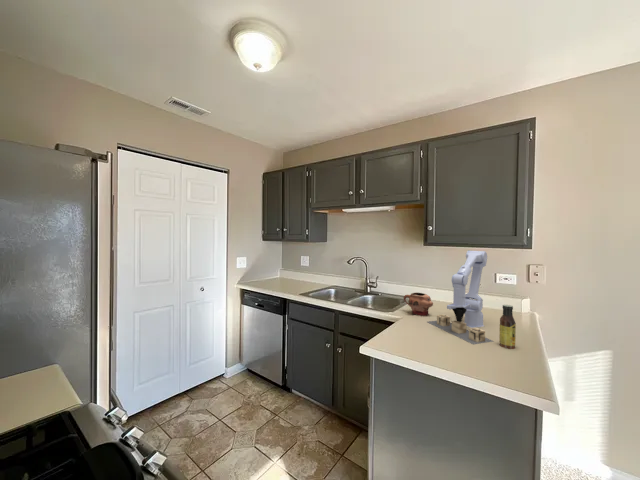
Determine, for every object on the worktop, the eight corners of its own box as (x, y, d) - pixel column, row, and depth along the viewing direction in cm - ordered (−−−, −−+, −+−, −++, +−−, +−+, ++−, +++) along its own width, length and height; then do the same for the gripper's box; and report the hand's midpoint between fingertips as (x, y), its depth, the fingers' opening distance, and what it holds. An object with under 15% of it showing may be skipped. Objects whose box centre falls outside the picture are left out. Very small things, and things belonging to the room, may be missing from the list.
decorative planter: (399, 313, 180) (399, 292, 179) (406, 309, 189) (406, 289, 189) (430, 319, 167) (430, 297, 167) (435, 314, 177) (436, 293, 176)
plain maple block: (458, 329, 148) (459, 320, 148) (466, 332, 144) (466, 323, 143) (451, 330, 147) (451, 321, 147) (458, 333, 142) (458, 324, 142)
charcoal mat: (443, 320, 165) (443, 319, 165) (494, 342, 132) (494, 341, 132) (426, 322, 161) (426, 321, 161) (473, 345, 129) (473, 344, 129)
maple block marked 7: (476, 337, 137) (476, 327, 137) (485, 341, 133) (485, 330, 132) (468, 338, 136) (468, 328, 136) (477, 342, 131) (477, 332, 131)
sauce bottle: (515, 351, 122) (516, 308, 122) (499, 348, 126) (500, 306, 125) (514, 346, 128) (515, 305, 127) (499, 343, 131) (499, 303, 131)
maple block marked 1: (443, 322, 159) (443, 314, 159) (450, 325, 155) (450, 316, 154) (436, 323, 158) (436, 314, 158) (442, 326, 153) (443, 317, 153)
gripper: (454, 299, 139) (453, 325, 139) (476, 297, 143) (475, 322, 143) (444, 296, 146) (443, 320, 146) (465, 294, 150) (465, 318, 150)
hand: (459, 321), depth 145 cm, fingers closed
